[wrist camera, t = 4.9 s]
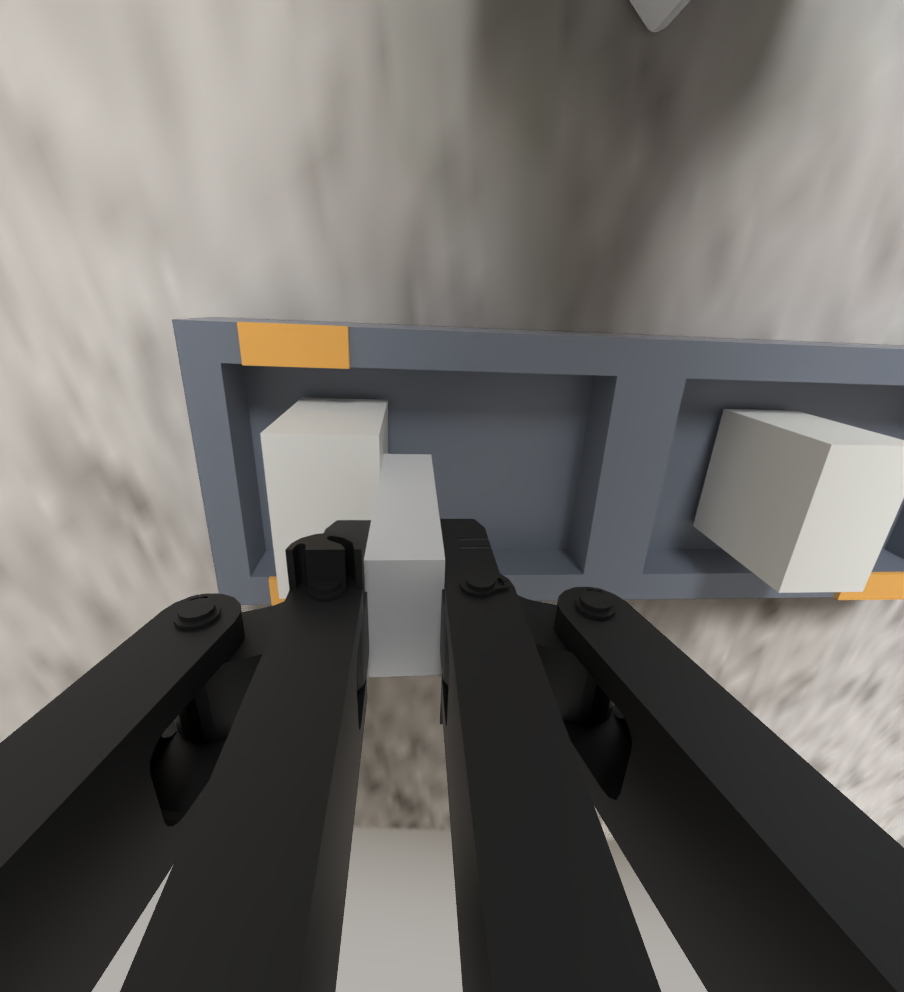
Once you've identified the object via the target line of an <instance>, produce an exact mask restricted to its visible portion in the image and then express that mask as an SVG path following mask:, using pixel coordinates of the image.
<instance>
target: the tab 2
mask: <svg viewBox="0 0 904 992" xmlns="http://www.w3.org/2000/svg"><path fill="white" fill-rule="evenodd" d="M903 499H904V440H901V439H898V438H894V437H890V436H887V435H883V434H879V433H876V432H872V431H868V430H865V429H861V428H858V427H854V426H850V425H847V424H843V423H839V422H836V421H832V420H828V419H825V418H821V417H817V416H814V415H810V414H806V413H803V412H799V411H790V410H753V409H723V413H722V417H721V421H720V424H719V428H718V432H717V436H716V440H715V444H714V447H713V451H712V455H711V459H710V463H709V467H708V470H707V474H706V478H705V482H704V486H703V490H702V493H701V497H700V501H699V505H698V509H697V513H696V516H695V520H694V524H693V526H694V527H695V528H696V529H698V530H699V531H700V532H701V533H703V534H704V535H705V536H707V537H708V538H709V539H710V540H712V541H713V542H714V543H715V544H717V545H718V546H719V547H721V548H722V549H723V550H724V551H726V552H727V553H728V554H730V555H731V556H732V557H733V558H735V559H736V560H737V561H738V562H740V563H741V564H742V565H744V566H745V567H746V568H747V569H749V570H750V571H751V572H753V573H754V574H755V575H756V576H758V577H759V578H760V579H762V580H763V581H764V582H765V583H767V584H768V585H769V586H770V587H772V588H773V589H774V590H776V591H777V592H778V593H807V592H863V590H864V588H865V586H866V583H867V581H868V579H869V576H870V574H871V572H872V570H873V567H874V565H875V563H876V560H877V558H878V556H879V554H880V551H881V549H882V547H883V544H884V542H885V540H886V538H887V535H888V533H889V531H890V528H891V526H892V524H893V522H894V519H895V517H896V515H897V512H898V510H899V508H900V506H901V503H902V501H903Z"/></svg>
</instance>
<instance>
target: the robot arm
mask: <svg viewBox="0 0 904 992" xmlns="http://www.w3.org/2000/svg"><path fill="white" fill-rule="evenodd" d="M285 553H286V562H287V572H288V581H289V592H288V595H287V597H286V599H285V601H284V602H281V603H279V604H277V605H273V606H270V607H266V608H262V609H257V610H252V611H247V612H242V611H241V604H240V602H238V601H237V600H236V599H235V598H234V597H232V596H228V595H225V594H201V595H195V596H191V597H189V598H186V599H184V600H181V601H178V602H176V603H174V604H172V605H171V606H169V607H168V608H166V609H164V610H163V611H161V612H160V613H159V614H158V615H157V616H155V617H154V618H153V619H152V620H150V621H149V622H148V623H147V624H145V625H144V626H143V627H142V628H141V629H139V630H138V631H137V632H136V633H134V634H133V635H132V636H131V637H130V638H128V639H127V640H126V641H125V642H123V643H122V644H121V645H120V646H119V647H117V648H116V649H115V650H114V651H112V652H111V653H110V654H109V655H108V656H106V657H105V658H104V659H103V660H101V661H100V662H99V663H98V664H97V665H95V666H94V667H93V668H92V669H90V670H89V671H88V672H87V673H86V674H84V675H83V676H82V677H81V678H79V679H78V680H77V681H76V682H74V683H73V684H72V685H71V686H70V687H68V688H67V689H66V690H65V691H63V692H62V693H61V694H60V695H59V696H57V697H56V698H55V699H54V700H52V701H51V702H50V703H49V704H48V705H46V706H45V707H44V708H43V709H41V710H40V711H39V712H38V713H37V714H35V715H34V716H33V717H32V718H30V719H29V720H28V721H27V722H26V723H24V724H23V725H22V726H21V727H19V728H18V729H17V730H16V731H15V732H13V733H12V734H11V735H10V736H8V737H7V738H6V739H5V740H3V741H2V742H1V743H0V992H91V991H92V990H93V988H94V987H95V985H96V984H97V982H98V981H99V979H100V978H101V976H102V974H103V973H104V971H105V969H106V968H107V967H108V965H109V963H110V962H111V960H112V959H113V957H114V956H115V954H116V953H117V951H118V950H119V948H120V946H121V945H122V943H123V942H124V940H125V939H126V937H127V936H128V934H129V932H130V931H131V929H132V928H133V926H134V925H135V923H136V922H137V920H138V919H139V917H140V915H141V914H142V912H143V911H144V909H145V908H146V906H147V904H148V903H149V901H150V900H151V898H152V897H153V895H154V894H155V892H156V891H157V889H158V888H159V886H160V884H161V883H162V881H163V880H164V878H165V877H166V875H167V874H168V872H169V870H170V869H171V867H172V866H173V867H172V870H171V872H170V874H169V877H168V879H167V882H166V884H165V886H164V889H163V891H162V893H161V896H160V898H159V901H158V903H157V905H156V908H155V910H154V912H153V915H152V917H151V920H150V922H149V924H148V927H147V929H146V931H145V934H144V936H143V938H142V941H141V943H140V946H139V948H138V950H137V953H136V955H135V957H134V960H133V962H132V965H131V967H130V970H129V972H128V974H127V976H126V979H125V981H124V983H123V986H122V988H121V991H120V992H335V989H336V980H337V971H338V962H339V952H340V944H341V934H342V924H343V916H344V906H345V897H346V888H347V878H348V870H349V861H350V851H351V842H352V832H353V824H354V815H355V805H356V796H357V787H358V778H359V769H360V759H361V750H362V741H363V732H364V722H365V713H366V704H367V680H366V677H367V668H368V677H398V676H432V675H441V669H442V683H441V709H440V724H443V728H444V742H445V755H446V769H447V783H448V796H449V810H450V823H451V836H452V850H453V864H454V877H455V891H456V904H457V917H458V932H459V945H460V958H461V972H462V986H463V992H661V990H660V987H659V985H658V981H657V979H656V976H655V973H654V970H653V968H652V965H651V962H650V959H649V957H648V954H647V951H646V948H645V946H644V943H643V940H642V937H641V934H640V932H639V929H638V926H637V924H636V921H635V918H634V915H633V913H632V910H631V907H630V904H629V901H628V899H627V896H626V893H625V890H624V888H623V885H622V882H621V879H620V876H619V874H618V871H617V868H616V865H615V863H614V860H613V857H612V855H611V852H610V849H609V846H608V844H607V841H606V838H605V835H604V832H603V830H602V827H601V824H600V821H599V819H598V816H597V813H596V810H595V808H596V809H597V811H598V813H599V814H600V816H601V817H602V819H603V821H604V822H605V824H606V826H607V827H608V829H609V831H610V832H611V834H612V835H613V837H614V839H615V840H616V842H617V843H618V845H619V847H620V849H621V850H622V852H623V853H624V855H625V857H626V858H627V860H628V862H629V863H630V865H631V867H632V868H633V870H634V872H635V873H636V875H637V876H638V878H639V880H640V881H641V883H642V885H643V886H644V888H645V890H646V891H647V893H648V894H649V896H650V898H651V899H652V901H653V903H654V904H655V906H656V908H657V909H658V911H659V912H660V914H661V916H662V917H663V919H664V921H665V922H666V924H667V926H668V927H669V929H670V930H671V932H672V934H673V935H674V937H675V939H676V940H677V942H678V944H679V945H680V947H681V948H682V950H683V952H684V953H685V955H686V957H687V958H688V960H689V962H690V963H691V965H692V967H693V968H694V970H695V971H696V973H697V975H698V976H699V978H700V980H701V981H702V983H703V985H704V986H705V988H706V989H707V991H708V992H904V848H903V847H902V846H901V845H900V844H899V843H898V842H896V841H895V840H894V839H893V838H892V837H891V836H890V835H889V834H887V833H886V832H885V831H884V830H883V829H882V828H881V827H880V826H878V825H877V824H876V823H875V822H874V821H873V820H872V819H871V818H869V817H868V816H867V815H866V814H865V813H864V812H863V811H862V810H860V809H859V808H858V807H857V806H856V805H855V804H854V803H853V802H851V801H850V800H849V799H848V798H847V797H846V796H845V795H844V794H842V793H841V792H840V791H839V790H838V789H837V788H836V787H834V786H833V785H832V784H831V783H830V782H829V781H828V780H827V779H825V778H824V777H823V776H822V775H821V774H820V773H819V772H818V771H816V770H815V769H814V768H813V767H812V766H811V765H810V764H809V763H807V762H806V761H805V760H804V759H803V758H802V757H801V756H800V755H798V754H797V753H796V752H795V751H794V750H793V749H792V748H791V747H789V746H788V745H787V744H786V743H785V742H784V741H783V740H782V739H780V738H779V737H778V736H777V735H776V734H775V733H774V732H772V731H771V730H770V729H769V728H768V727H767V726H766V725H765V724H763V723H762V722H761V721H760V720H759V719H758V718H757V717H756V716H754V715H753V714H752V713H751V712H750V711H749V710H748V709H747V708H745V707H744V706H743V705H742V704H741V703H740V702H739V701H738V700H736V699H735V698H734V697H733V696H732V695H731V694H730V693H729V692H727V691H726V690H725V689H724V688H723V687H722V686H721V685H719V684H718V683H717V682H716V681H715V680H714V679H713V678H712V677H710V676H709V675H708V674H707V673H706V672H705V671H704V670H703V669H701V668H700V667H699V666H698V665H697V664H696V663H695V662H694V661H692V660H691V659H690V658H689V657H688V656H687V655H686V654H685V653H683V652H682V651H681V650H680V649H679V648H678V647H677V646H676V645H674V644H673V643H672V642H671V641H670V640H669V639H668V638H667V637H665V636H664V635H663V634H662V633H661V632H660V631H659V630H657V629H656V628H655V627H654V626H653V625H652V624H651V623H650V622H648V621H647V620H646V619H645V618H644V617H643V616H642V615H641V614H639V613H638V612H637V611H636V610H635V609H634V608H633V607H632V606H630V605H629V604H628V603H627V602H626V601H624V600H623V599H621V598H620V597H618V596H617V595H615V594H613V593H611V592H608V591H605V590H603V589H600V588H596V587H595V588H594V587H574V588H571V589H568V590H565V591H564V592H563V593H561V594H560V595H559V596H558V603H557V605H553V604H547V603H542V602H537V601H533V600H529V599H526V598H524V597H521V596H519V595H517V592H516V589H515V587H514V585H513V584H512V582H511V581H510V580H509V579H508V578H506V577H505V576H503V575H502V574H500V572H499V569H498V566H497V563H496V560H495V557H494V554H493V551H492V548H491V545H490V542H489V540H488V536H487V533H486V530H485V527H484V526H482V525H481V524H480V523H479V522H477V521H476V520H475V519H440V517H439V509H438V502H437V494H436V487H435V479H434V472H433V464H432V457H431V454H383V460H382V465H381V471H380V475H379V481H378V486H377V491H376V497H375V502H374V508H373V513H372V518H371V520H337V521H335V522H334V523H333V524H331V525H330V526H329V527H327V528H326V529H325V531H324V533H321V534H314V535H310V536H306V537H302V538H300V539H298V540H296V541H294V542H293V543H291V544H290V545H289V546H288V547H287V548H286V549H285ZM593 804H594V805H593ZM594 806H595V807H594ZM173 864H174V865H173Z"/></svg>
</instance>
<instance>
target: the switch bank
mask: <svg viewBox="0 0 904 992" xmlns="http://www.w3.org/2000/svg"><path fill="white" fill-rule="evenodd" d="M172 322H173V328H174V334H175V340H176V345H177V351H178V357H179V363H180V369H181V375H182V380H183V386H184V392H185V398H186V404H187V410H188V415H189V421H190V427H191V433H192V439H193V445H194V450H195V456H196V462H197V468H198V474H199V480H200V486H201V491H202V497H203V503H204V509H205V515H206V521H207V526H208V532H209V538H210V544H211V550H212V556H213V561H214V567H215V573H216V579H217V585H218V591H219V594H225V595H228V596H232V597H234V598H235V599H236V600H237V601H238V602H240V604H241V605H258V604H272V606H273V605H277V604H279V603H281V602H284V601H285V599H279V593H278V584H277V575H276V567H275V558H274V549H273V541H272V532H271V523H270V514H269V506H268V497H267V488H266V480H265V471H264V462H263V454H262V445H261V436H260V433H261V432H262V431H263V430H265V429H266V428H267V427H268V426H269V425H271V424H272V423H273V422H274V421H275V420H276V419H278V418H279V417H280V416H281V415H282V414H283V413H285V412H286V411H287V410H288V409H289V408H290V407H292V406H293V405H294V404H295V403H296V402H297V401H299V400H300V399H301V398H340V399H377V400H388V454H431V457H432V464H433V472H434V479H435V487H436V494H437V502H438V509H439V517H440V519H475V520H476V521H477V522H479V523H480V524H481V525H482V526H484V527H485V530H486V533H487V536H488V540H489V542H490V545H491V548H492V551H493V554H494V557H495V560H496V563H497V566H498V569H499V572H500V574H502V575H503V576H505V577H506V578H508V579H509V580H510V581H511V582H512V584H513V585H514V587H515V589H516V592H517V595H519V596H521V597H524V598H526V599H529V600H533V601H558V596H559V595H560V594H561V593H563V592H564V591H565V590H568V589H571V588H574V587H594V588H595V587H596V588H600V589H603V590H605V591H608V592H611V593H613V594H615V595H617V596H618V597H620V598H621V599H623V600H646V599H723V598H801V597H834V598H835V599H837V600H891V599H904V499H903V501H902V503H901V506H900V508H899V510H898V512H897V515H896V517H895V519H894V522H893V524H892V526H891V528H890V531H889V533H888V535H887V538H886V540H885V542H884V544H883V547H882V549H881V551H880V554H879V556H878V558H877V560H876V563H875V565H874V567H873V570H872V572H871V574H870V576H869V579H868V581H867V583H866V586H865V588H864V590H863V592H807V593H778V592H777V591H776V590H774V589H773V588H772V587H770V586H769V585H768V584H767V583H765V582H764V581H763V580H762V579H760V578H759V577H758V576H756V575H755V574H754V573H753V572H751V571H750V570H749V569H747V568H746V567H745V566H744V565H742V564H741V563H740V562H738V561H737V560H736V559H735V558H733V557H732V556H731V555H730V554H728V553H727V552H726V551H724V550H723V549H722V548H721V547H719V546H718V545H717V544H715V543H714V542H713V541H712V540H710V539H709V538H708V537H707V536H705V535H704V534H703V533H701V532H700V531H699V530H698V529H696V528H695V527H694V526H693V524H694V520H695V516H696V513H697V509H698V505H699V501H700V497H701V493H702V490H703V486H704V482H705V478H706V474H707V470H708V467H709V463H710V459H711V455H712V451H713V447H714V444H715V440H716V436H717V432H718V428H719V424H720V421H721V417H722V413H723V409H753V410H790V411H799V412H803V413H806V414H810V415H814V416H817V417H821V418H825V419H828V420H832V421H836V422H839V423H843V424H847V425H850V426H854V427H858V428H861V429H865V430H868V431H872V432H876V433H879V434H883V435H887V436H890V437H894V438H898V439H901V440H904V346H899V345H874V344H850V343H826V342H802V341H778V340H753V339H729V338H705V337H681V336H657V335H632V334H608V333H584V332H560V331H535V330H511V329H487V328H463V327H439V326H414V325H390V324H366V323H342V322H318V321H293V320H269V319H245V318H221V317H206V318H190V319H173V320H172Z"/></svg>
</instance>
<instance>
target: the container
mask: <svg viewBox="0 0 904 992" xmlns="http://www.w3.org/2000/svg"><path fill="white" fill-rule="evenodd" d="M629 1H630V2H631V4H632V5H633V7H634V9H635V10H636V12H637V13H638V15H639V16H640V18H641V19H642V21H643V23H644V24H645V26H646V27H647V29H649V30H650V31H651V32H659V31H661V30H663V29H664V28H665V27H667V26H668V25H669V24H670V23H671V21H672V20H673V19H674V18H675V17H676V16H677V15H678V14H679V13H680V12H681V11H682V10H683V8H684V7H685V6H686V5H687V4H688V3H689V2H690V1H691V0H629Z"/></svg>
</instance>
